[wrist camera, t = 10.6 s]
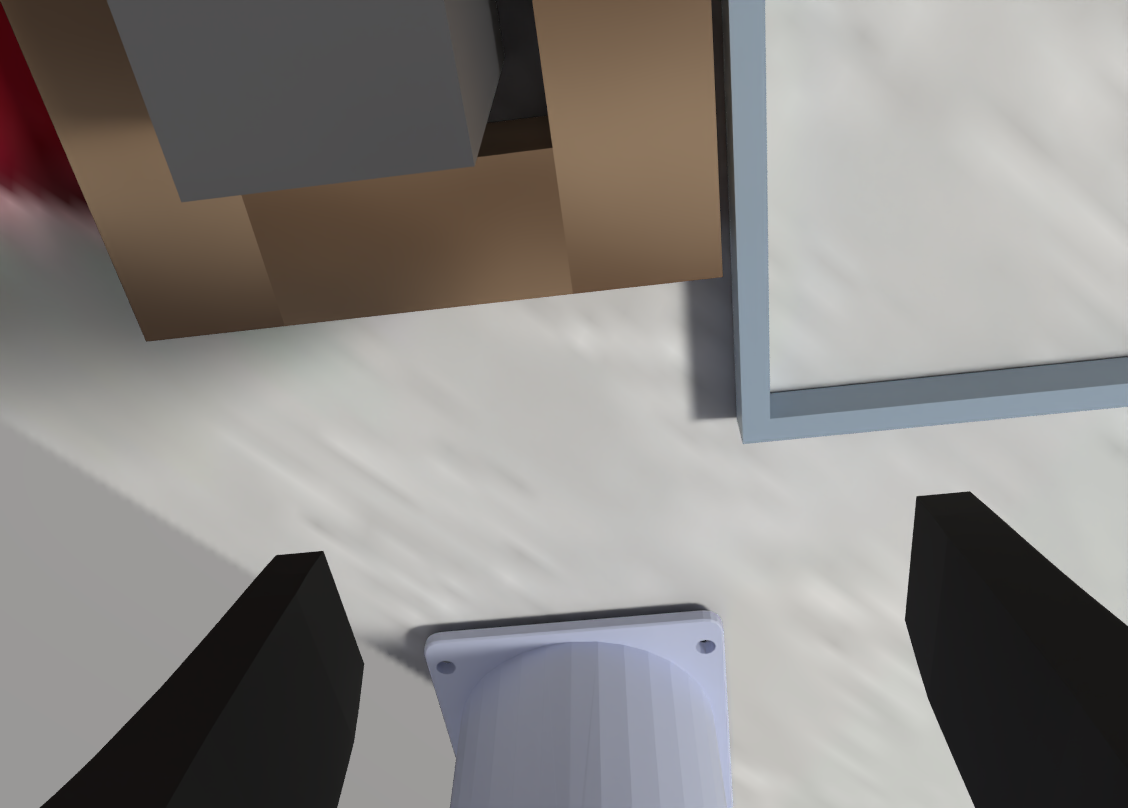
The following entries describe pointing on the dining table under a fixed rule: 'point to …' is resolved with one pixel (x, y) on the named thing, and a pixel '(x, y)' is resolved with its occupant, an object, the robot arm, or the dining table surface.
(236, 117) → the plug
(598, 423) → the dining table surface
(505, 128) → the socket block
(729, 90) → the frame
